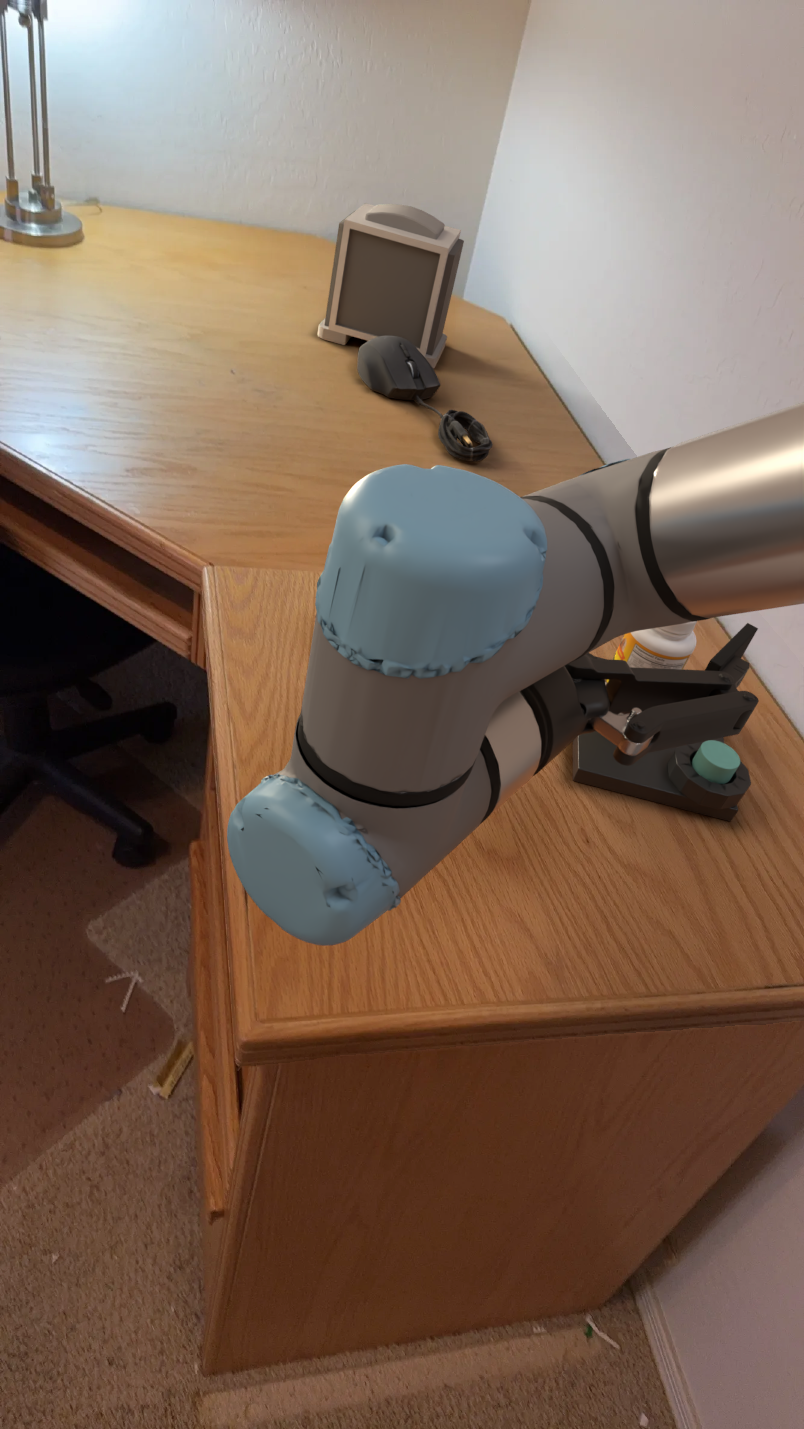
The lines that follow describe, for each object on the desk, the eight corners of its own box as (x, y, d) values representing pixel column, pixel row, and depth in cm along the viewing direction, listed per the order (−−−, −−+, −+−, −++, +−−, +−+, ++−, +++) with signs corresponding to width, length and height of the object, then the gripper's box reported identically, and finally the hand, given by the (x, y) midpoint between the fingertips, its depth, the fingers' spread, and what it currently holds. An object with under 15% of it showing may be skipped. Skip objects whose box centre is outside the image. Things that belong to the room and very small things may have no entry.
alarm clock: (445, 344, 142) (475, 219, 130) (433, 370, 131) (464, 237, 120) (336, 313, 142) (356, 185, 130) (315, 336, 132) (334, 200, 120)
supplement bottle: (614, 674, 79) (659, 579, 72) (669, 707, 77) (720, 612, 70) (585, 699, 75) (630, 601, 68) (641, 735, 73) (693, 637, 66)
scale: (738, 829, 69) (756, 803, 67) (572, 785, 69) (585, 758, 67) (712, 699, 82) (726, 675, 80) (572, 662, 81) (583, 637, 79)
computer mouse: (394, 361, 131) (402, 323, 127) (513, 465, 112) (525, 424, 108) (338, 360, 126) (344, 321, 123) (451, 468, 107) (462, 426, 104)
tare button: (733, 788, 68) (743, 773, 67) (693, 778, 68) (703, 762, 67) (727, 761, 71) (737, 745, 70) (689, 751, 71) (698, 735, 70)
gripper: (303, 660, 53) (493, 556, 67) (664, 911, 44) (796, 729, 58) (320, 553, 48) (521, 466, 63) (730, 810, 39) (856, 639, 53)
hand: (653, 592), depth 60 cm, fingers open, 13 cm apart
